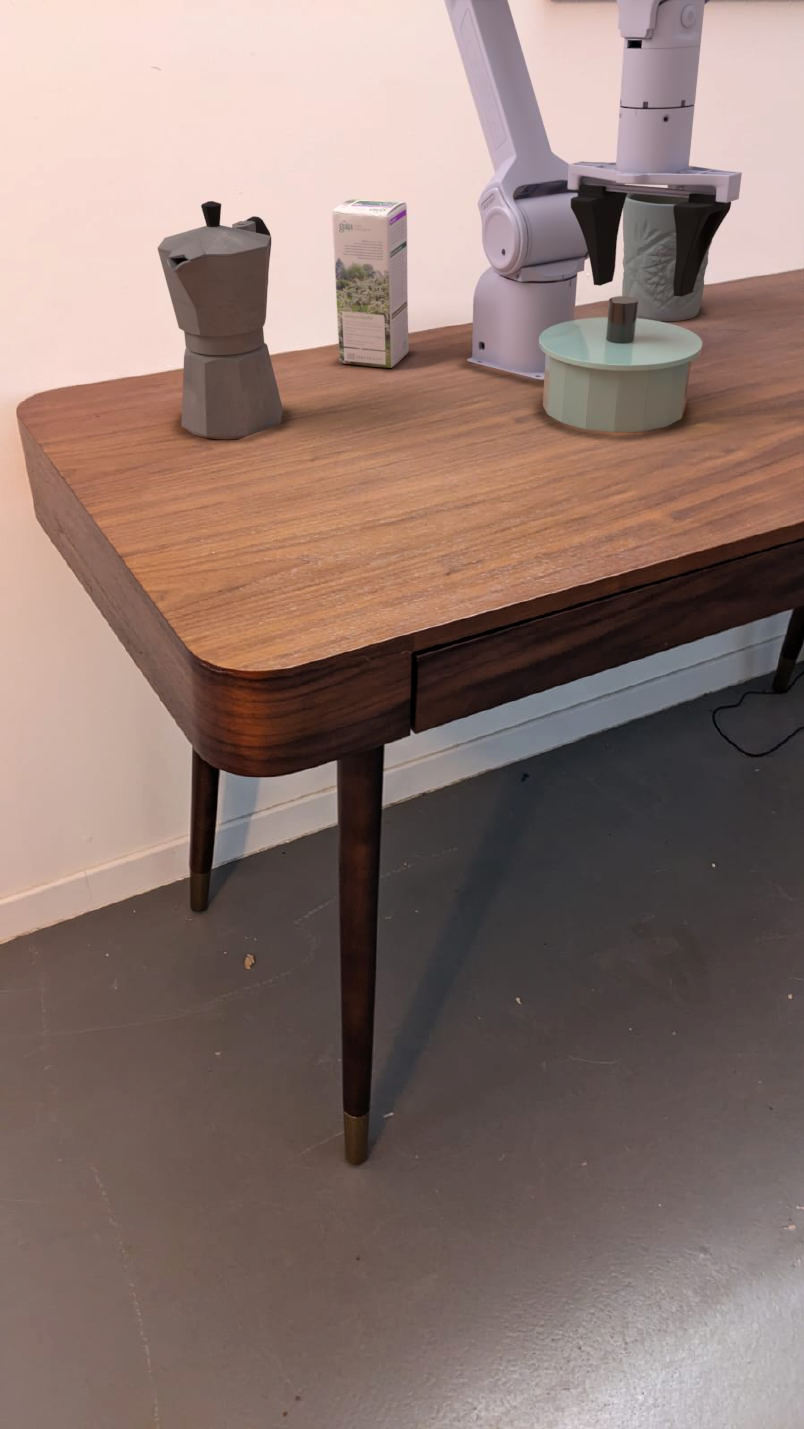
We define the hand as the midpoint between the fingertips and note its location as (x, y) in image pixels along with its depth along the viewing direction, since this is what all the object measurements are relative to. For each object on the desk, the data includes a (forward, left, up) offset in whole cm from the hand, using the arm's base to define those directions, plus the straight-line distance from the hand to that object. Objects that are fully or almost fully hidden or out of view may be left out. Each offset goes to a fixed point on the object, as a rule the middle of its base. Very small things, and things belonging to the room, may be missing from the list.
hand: (642, 288), depth 95 cm
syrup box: (-28, -4, -11) cm, 30 cm away
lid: (-1, -2, -4) cm, 5 cm away
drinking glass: (-15, +29, -11) cm, 34 cm away
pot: (-1, -2, -10) cm, 11 cm away
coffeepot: (-26, -24, -11) cm, 36 cm away
